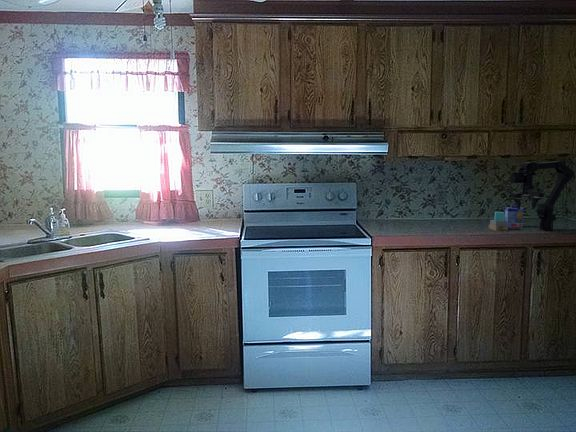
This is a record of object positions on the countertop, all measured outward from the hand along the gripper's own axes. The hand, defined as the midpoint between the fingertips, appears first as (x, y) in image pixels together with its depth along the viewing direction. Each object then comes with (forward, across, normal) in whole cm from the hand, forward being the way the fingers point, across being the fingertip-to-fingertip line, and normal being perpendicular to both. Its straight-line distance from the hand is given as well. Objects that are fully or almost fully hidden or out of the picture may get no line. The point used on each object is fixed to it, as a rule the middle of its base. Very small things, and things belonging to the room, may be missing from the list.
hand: (526, 209), depth 295 cm
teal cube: (+8, -12, +9) cm, 16 cm away
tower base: (+14, -12, +8) cm, 20 cm away
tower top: (+11, -12, +8) cm, 18 cm away
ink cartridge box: (+13, +2, +15) cm, 20 cm away
